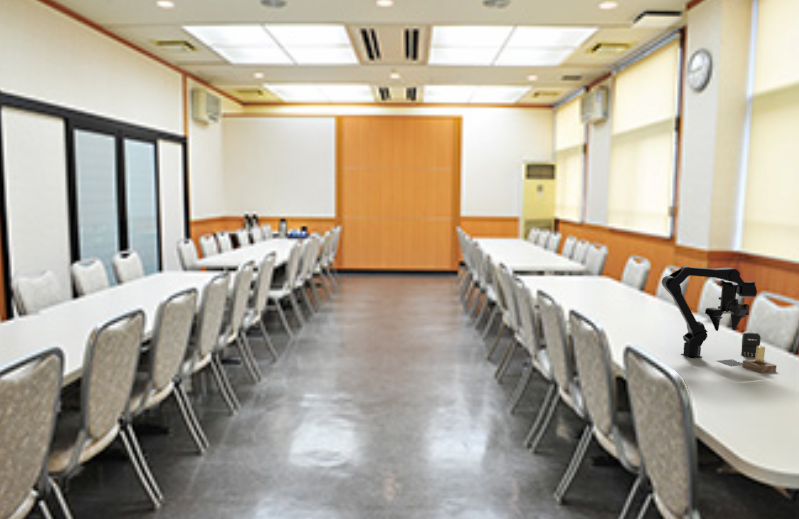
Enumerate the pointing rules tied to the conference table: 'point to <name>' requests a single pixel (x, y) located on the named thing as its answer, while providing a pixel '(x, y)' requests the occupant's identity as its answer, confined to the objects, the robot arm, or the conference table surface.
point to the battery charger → (750, 344)
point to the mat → (730, 362)
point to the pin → (760, 355)
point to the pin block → (759, 366)
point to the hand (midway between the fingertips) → (725, 330)
